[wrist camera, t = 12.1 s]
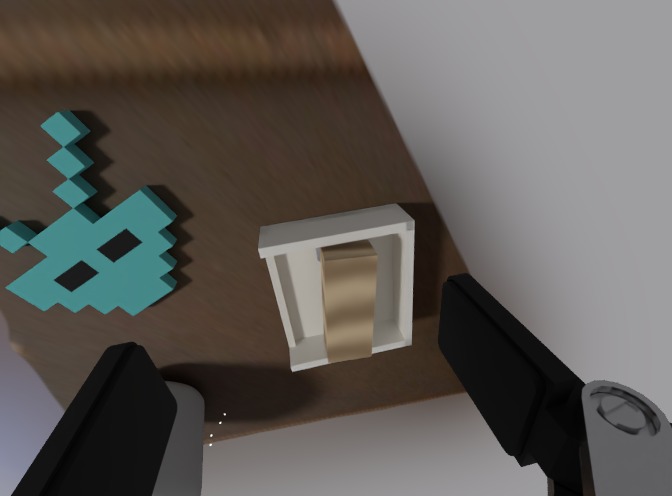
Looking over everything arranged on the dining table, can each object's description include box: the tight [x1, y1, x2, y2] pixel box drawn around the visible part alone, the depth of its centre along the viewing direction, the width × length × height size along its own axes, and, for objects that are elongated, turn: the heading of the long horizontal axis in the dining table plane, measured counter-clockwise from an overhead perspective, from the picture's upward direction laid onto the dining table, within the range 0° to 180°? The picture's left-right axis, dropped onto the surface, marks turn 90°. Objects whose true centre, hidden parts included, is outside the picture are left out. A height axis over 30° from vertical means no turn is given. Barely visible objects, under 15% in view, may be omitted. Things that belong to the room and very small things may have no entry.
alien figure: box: [0, 111, 177, 316], centre depth 34 cm, size 20×2×20 cm
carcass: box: [258, 203, 415, 372], centre depth 41 cm, size 20×18×6 cm
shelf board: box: [320, 239, 378, 363], centre depth 38 cm, size 16×6×4 cm, turn 1°
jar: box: [152, 381, 226, 496], centre depth 38 cm, size 19×15×25 cm
